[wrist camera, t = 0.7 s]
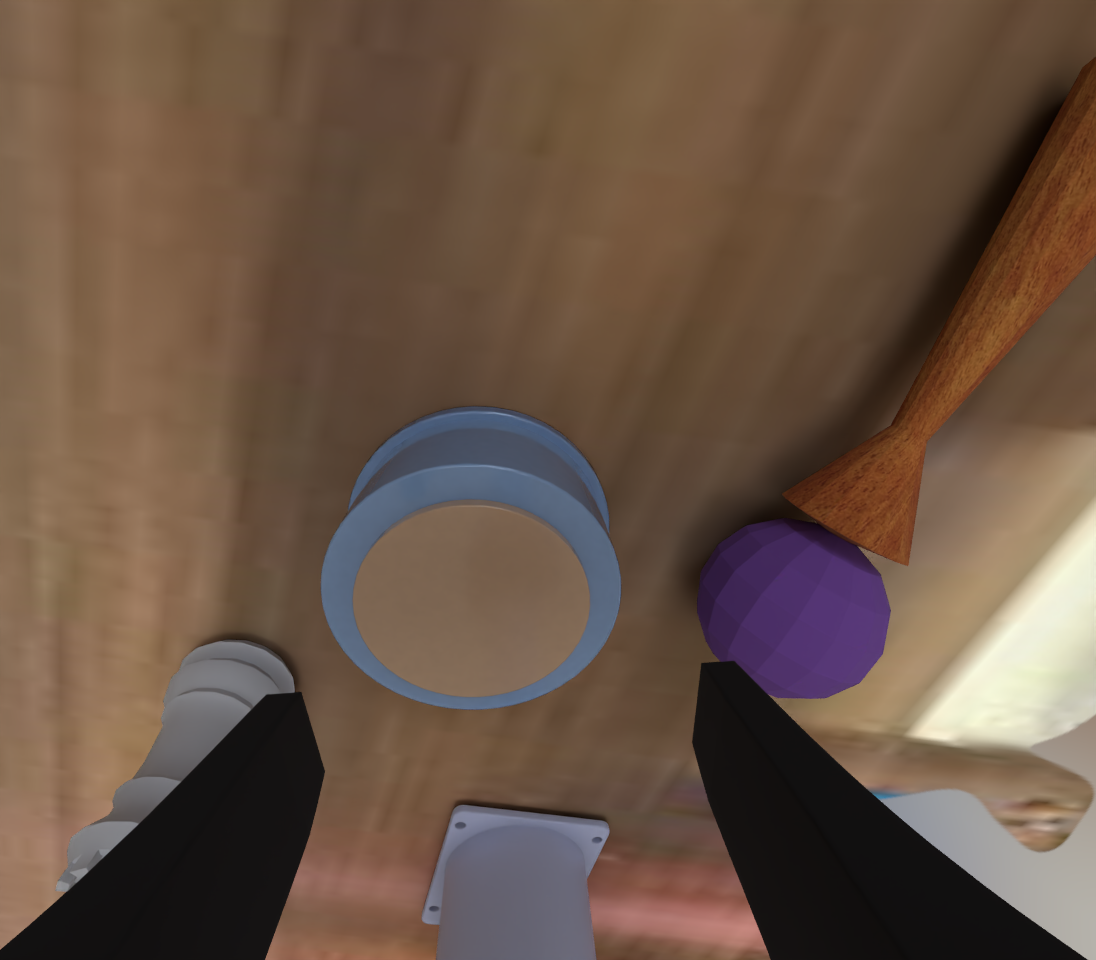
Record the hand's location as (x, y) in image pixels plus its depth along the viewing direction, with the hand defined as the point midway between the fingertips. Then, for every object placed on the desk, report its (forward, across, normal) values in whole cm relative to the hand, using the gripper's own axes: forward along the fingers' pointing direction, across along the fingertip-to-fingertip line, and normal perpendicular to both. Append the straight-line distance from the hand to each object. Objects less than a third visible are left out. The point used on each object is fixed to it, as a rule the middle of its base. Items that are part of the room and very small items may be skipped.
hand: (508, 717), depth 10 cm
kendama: (+10, -13, -2) cm, 17 cm away
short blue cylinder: (+10, +1, +2) cm, 10 cm away
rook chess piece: (+10, +11, +8) cm, 17 cm away
